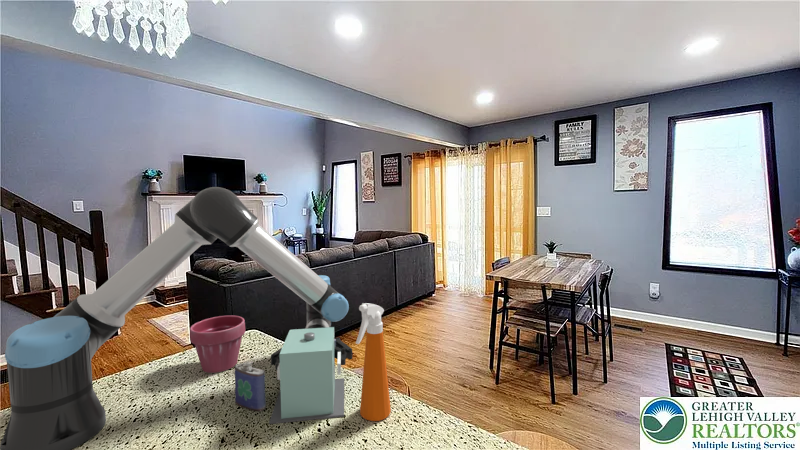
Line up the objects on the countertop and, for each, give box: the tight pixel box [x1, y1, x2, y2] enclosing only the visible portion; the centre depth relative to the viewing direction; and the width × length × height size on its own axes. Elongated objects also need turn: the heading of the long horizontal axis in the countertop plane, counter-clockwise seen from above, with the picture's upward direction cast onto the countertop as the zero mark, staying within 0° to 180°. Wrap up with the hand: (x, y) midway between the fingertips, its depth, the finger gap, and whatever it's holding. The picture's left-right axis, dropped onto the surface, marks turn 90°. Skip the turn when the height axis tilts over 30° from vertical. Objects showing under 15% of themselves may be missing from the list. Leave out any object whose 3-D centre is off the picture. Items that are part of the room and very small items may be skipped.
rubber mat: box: [268, 378, 345, 425], centre depth 83 cm, size 16×16×1 cm
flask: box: [234, 360, 267, 413], centre depth 80 cm, size 9×3×11 cm, turn 63°
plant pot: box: [189, 315, 246, 374], centre depth 99 cm, size 14×14×13 cm
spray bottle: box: [355, 302, 392, 422], centre depth 75 cm, size 7×11×26 cm, turn 154°
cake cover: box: [279, 326, 336, 419], centre depth 82 cm, size 11×14×16 cm
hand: (309, 371), depth 80 cm, fingers open, 13 cm apart
